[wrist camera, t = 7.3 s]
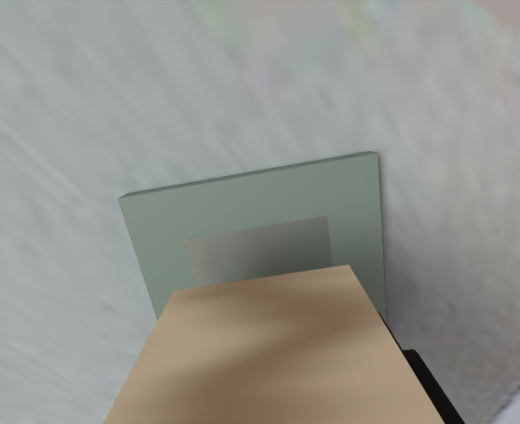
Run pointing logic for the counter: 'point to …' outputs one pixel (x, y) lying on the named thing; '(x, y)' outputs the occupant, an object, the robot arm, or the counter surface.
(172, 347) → the maple block
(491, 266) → the counter surface
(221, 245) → the plate
